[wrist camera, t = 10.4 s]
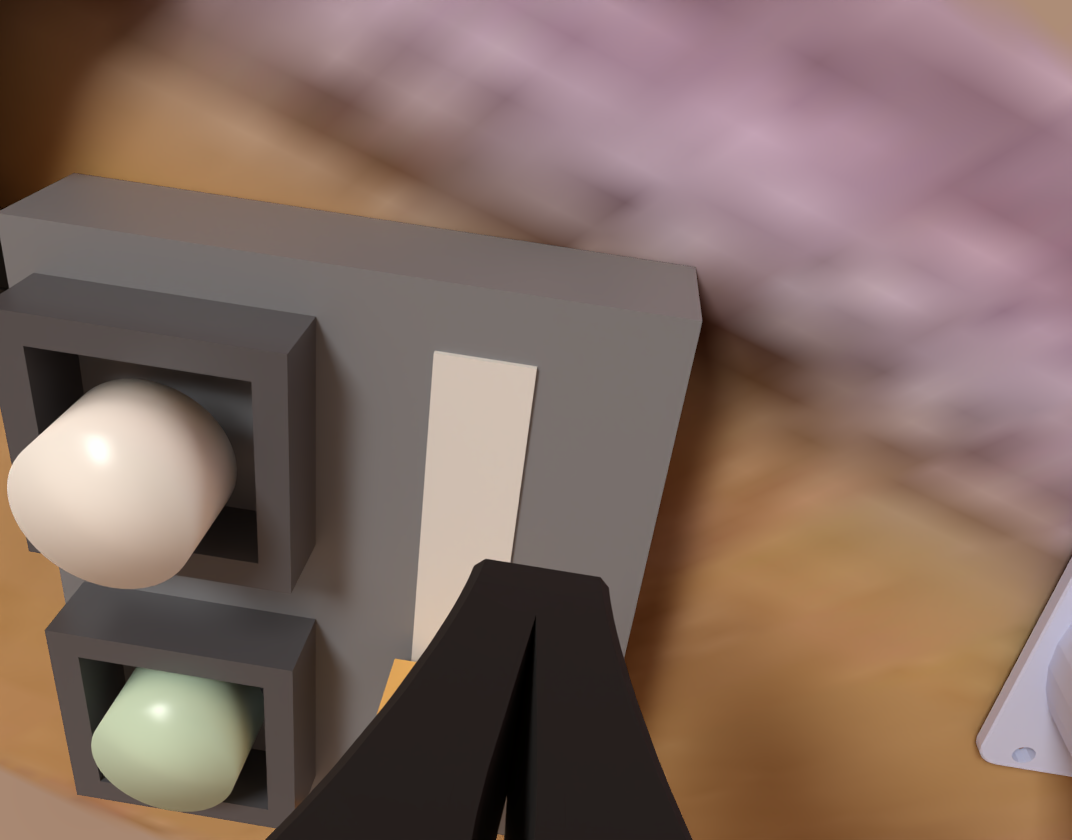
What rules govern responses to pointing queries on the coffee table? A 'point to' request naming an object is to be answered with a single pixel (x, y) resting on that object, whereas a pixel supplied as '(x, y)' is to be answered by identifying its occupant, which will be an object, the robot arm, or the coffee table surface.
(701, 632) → the coffee table surface
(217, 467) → the white button
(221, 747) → the green button
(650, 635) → the coffee table surface
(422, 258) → the control panel
